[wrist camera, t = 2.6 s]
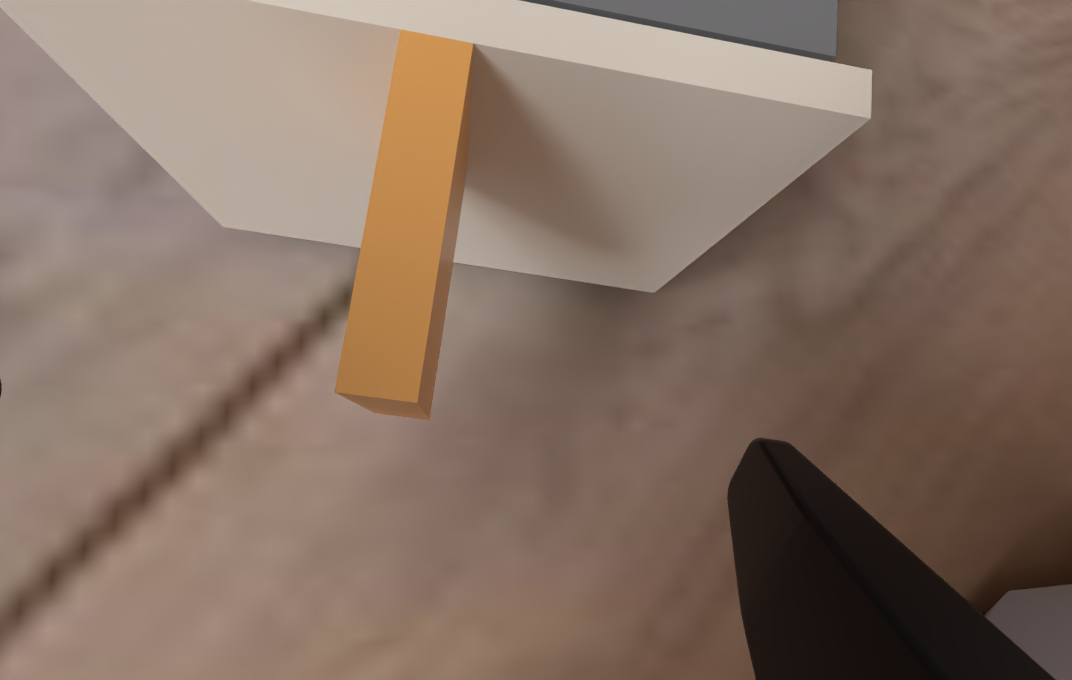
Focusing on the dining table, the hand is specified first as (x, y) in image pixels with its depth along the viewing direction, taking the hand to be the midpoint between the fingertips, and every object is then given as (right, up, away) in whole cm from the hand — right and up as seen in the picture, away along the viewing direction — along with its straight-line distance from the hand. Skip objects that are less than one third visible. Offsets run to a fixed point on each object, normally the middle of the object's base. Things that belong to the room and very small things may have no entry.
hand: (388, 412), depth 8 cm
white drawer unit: (-1, +6, +12) cm, 14 cm away
